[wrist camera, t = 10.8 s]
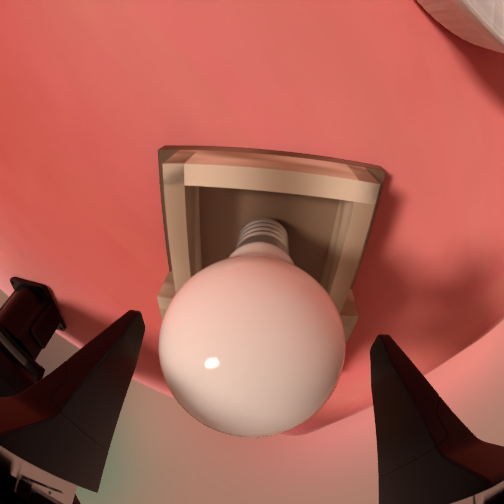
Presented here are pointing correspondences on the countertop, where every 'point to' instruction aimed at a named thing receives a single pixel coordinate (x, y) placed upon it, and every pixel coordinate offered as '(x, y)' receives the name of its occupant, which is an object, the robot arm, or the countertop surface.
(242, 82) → the countertop surface
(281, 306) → the lightbulb
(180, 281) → the wooden tray
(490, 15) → the ramekin
